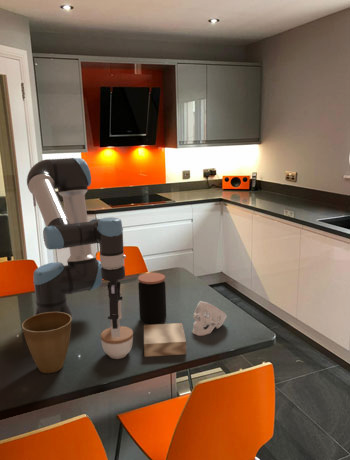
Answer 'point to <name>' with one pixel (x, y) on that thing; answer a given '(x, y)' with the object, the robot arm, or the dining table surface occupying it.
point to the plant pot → (48, 339)
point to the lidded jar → (117, 342)
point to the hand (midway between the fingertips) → (116, 327)
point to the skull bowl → (207, 318)
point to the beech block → (164, 339)
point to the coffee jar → (152, 298)
